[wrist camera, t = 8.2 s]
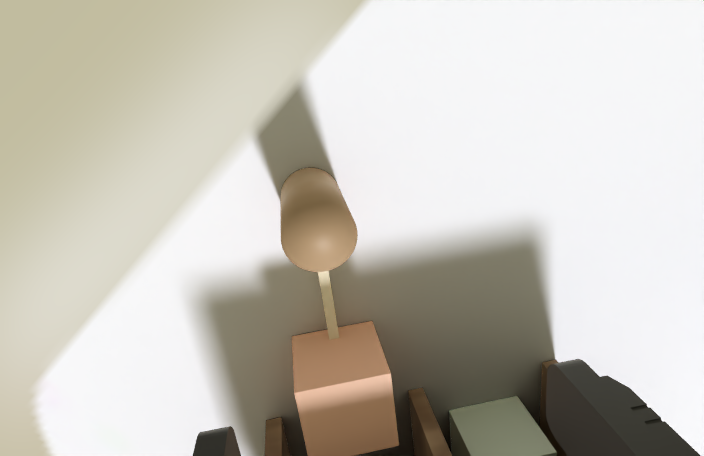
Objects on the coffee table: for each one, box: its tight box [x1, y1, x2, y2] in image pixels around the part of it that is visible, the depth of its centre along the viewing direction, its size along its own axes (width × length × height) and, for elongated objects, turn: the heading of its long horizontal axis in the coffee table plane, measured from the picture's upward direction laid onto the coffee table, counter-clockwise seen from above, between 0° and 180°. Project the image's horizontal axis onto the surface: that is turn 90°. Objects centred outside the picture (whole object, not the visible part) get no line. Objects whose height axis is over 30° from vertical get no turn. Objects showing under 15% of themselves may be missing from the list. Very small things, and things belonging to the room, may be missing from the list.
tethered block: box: [281, 168, 399, 456], centre depth 24 cm, size 5×15×6 cm, turn 7°
